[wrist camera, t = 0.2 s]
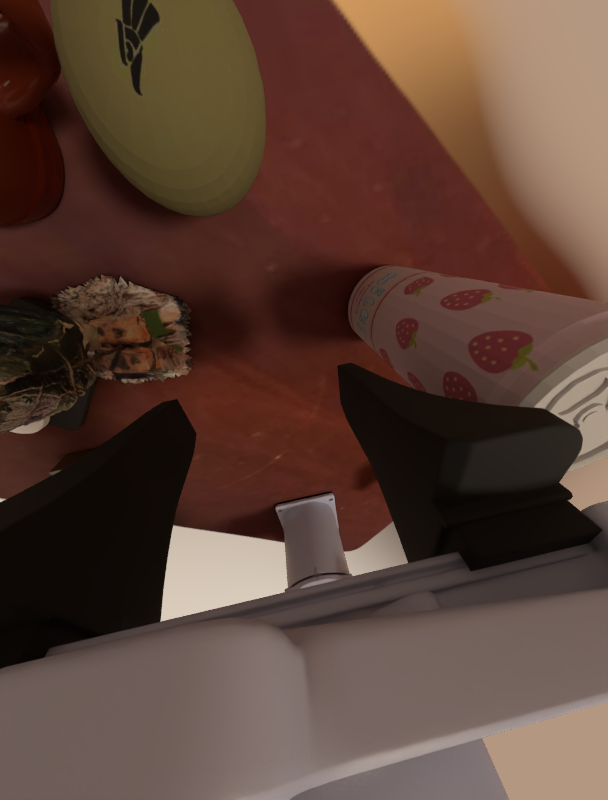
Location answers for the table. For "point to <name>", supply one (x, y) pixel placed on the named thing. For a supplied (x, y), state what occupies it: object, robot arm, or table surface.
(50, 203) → the mug
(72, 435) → the table surface
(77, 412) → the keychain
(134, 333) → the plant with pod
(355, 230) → the table surface
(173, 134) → the light bulb
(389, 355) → the beverage can
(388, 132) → the table surface
